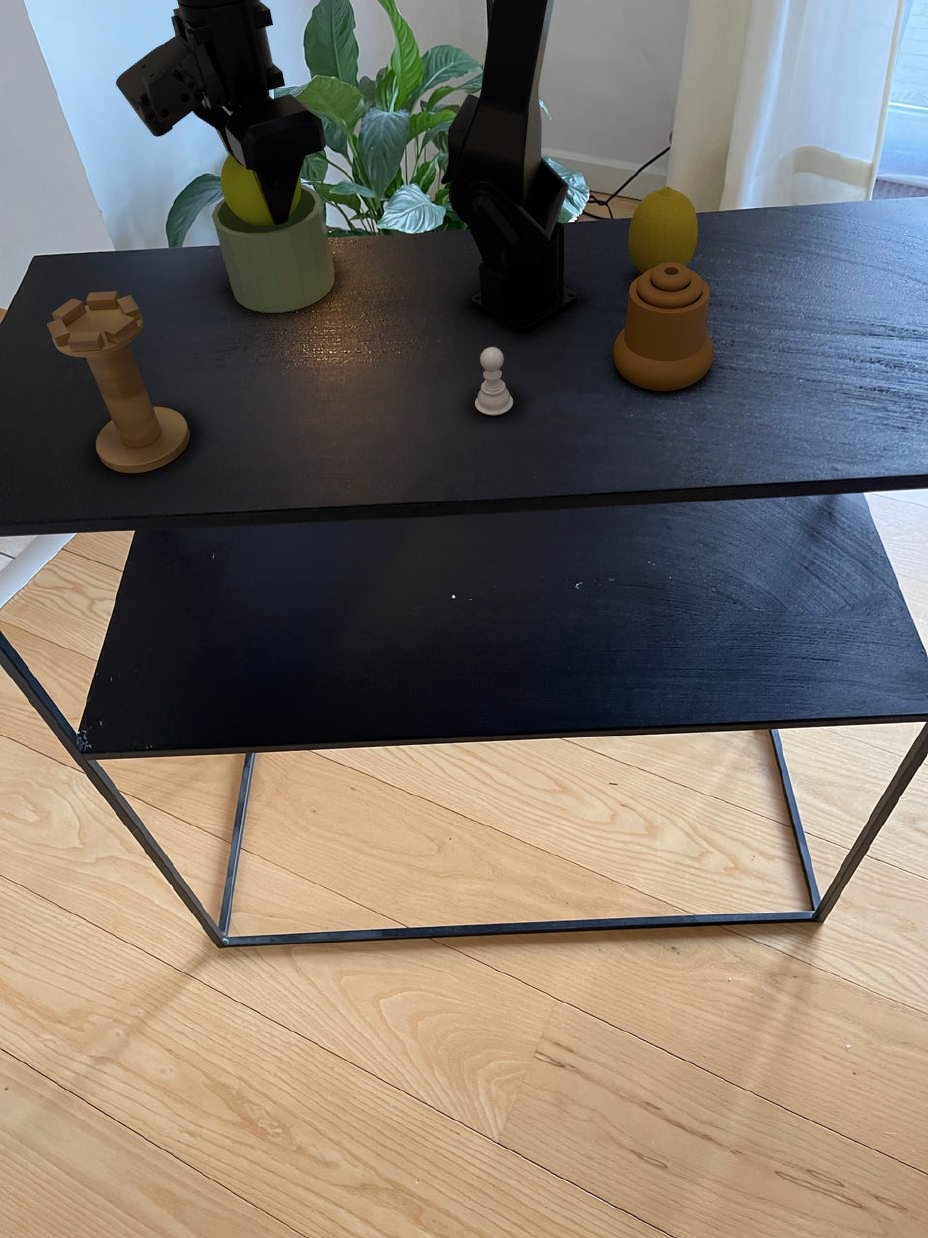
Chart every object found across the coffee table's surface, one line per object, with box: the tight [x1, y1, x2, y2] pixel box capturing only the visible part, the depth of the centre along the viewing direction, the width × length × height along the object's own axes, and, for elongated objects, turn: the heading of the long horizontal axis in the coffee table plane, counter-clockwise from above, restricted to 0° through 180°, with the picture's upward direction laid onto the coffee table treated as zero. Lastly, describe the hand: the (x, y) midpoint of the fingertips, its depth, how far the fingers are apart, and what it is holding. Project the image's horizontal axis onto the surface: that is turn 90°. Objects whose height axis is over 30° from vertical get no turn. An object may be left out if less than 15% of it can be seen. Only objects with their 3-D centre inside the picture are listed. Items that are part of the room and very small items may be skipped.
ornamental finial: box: [612, 262, 715, 392], centre depth 72 cm, size 8×8×8 cm
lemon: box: [627, 186, 699, 274], centre depth 80 cm, size 6×6×8 cm
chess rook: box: [46, 290, 191, 474], centre depth 69 cm, size 7×7×11 cm
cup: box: [211, 183, 335, 314], centre depth 84 cm, size 9×9×7 cm
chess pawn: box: [474, 346, 514, 416], centre depth 71 cm, size 3×3×5 cm
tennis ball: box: [220, 154, 302, 227], centre depth 79 cm, size 6×6×6 cm
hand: (266, 206), depth 81 cm, fingers closed on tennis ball, 6 cm apart
